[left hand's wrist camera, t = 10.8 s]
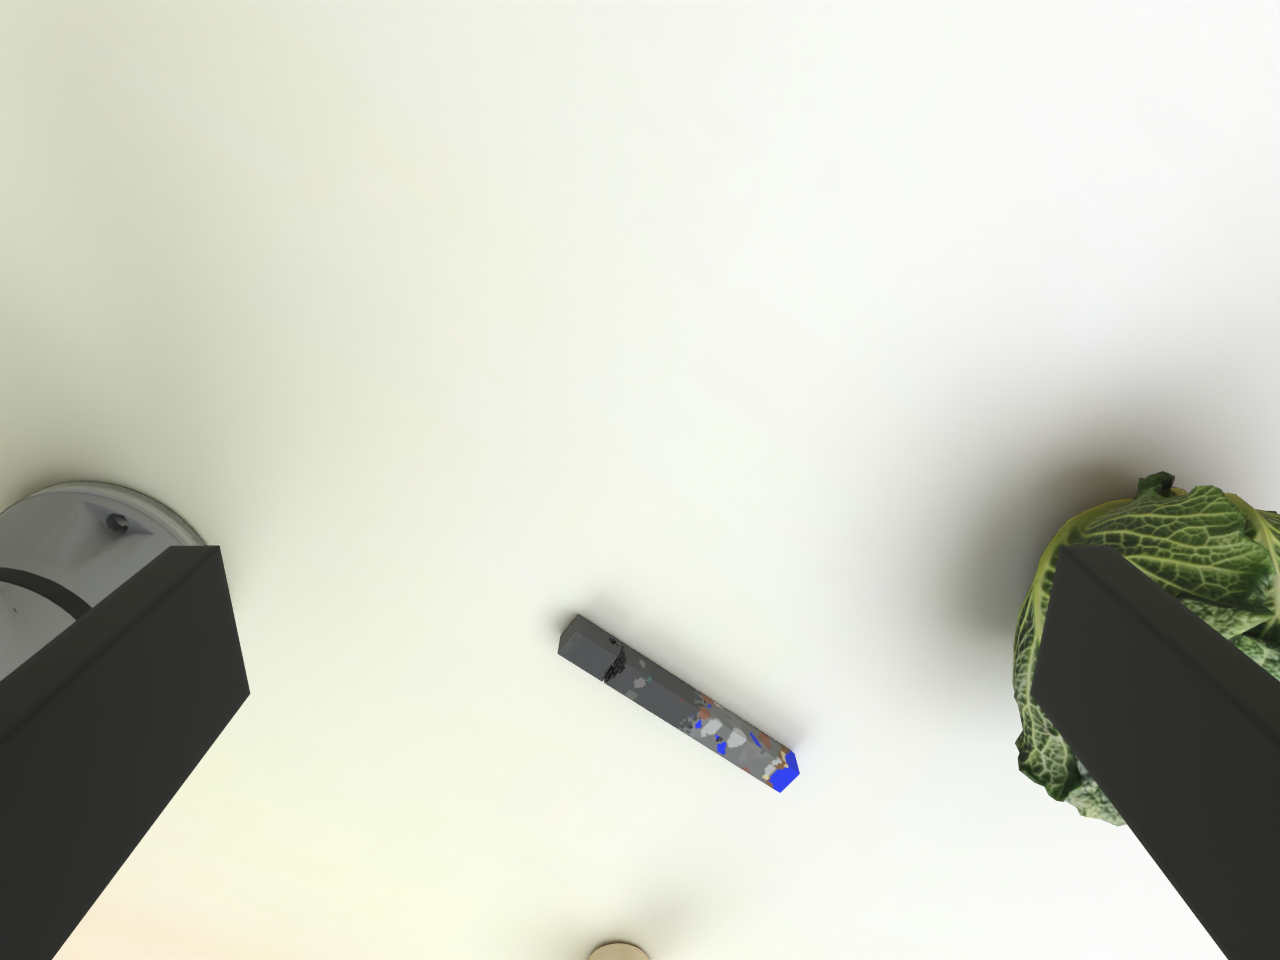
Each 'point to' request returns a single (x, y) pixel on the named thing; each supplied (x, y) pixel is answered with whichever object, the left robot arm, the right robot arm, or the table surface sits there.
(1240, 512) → the vegetable
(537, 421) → the table surface
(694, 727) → the pillar
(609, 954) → the candle
